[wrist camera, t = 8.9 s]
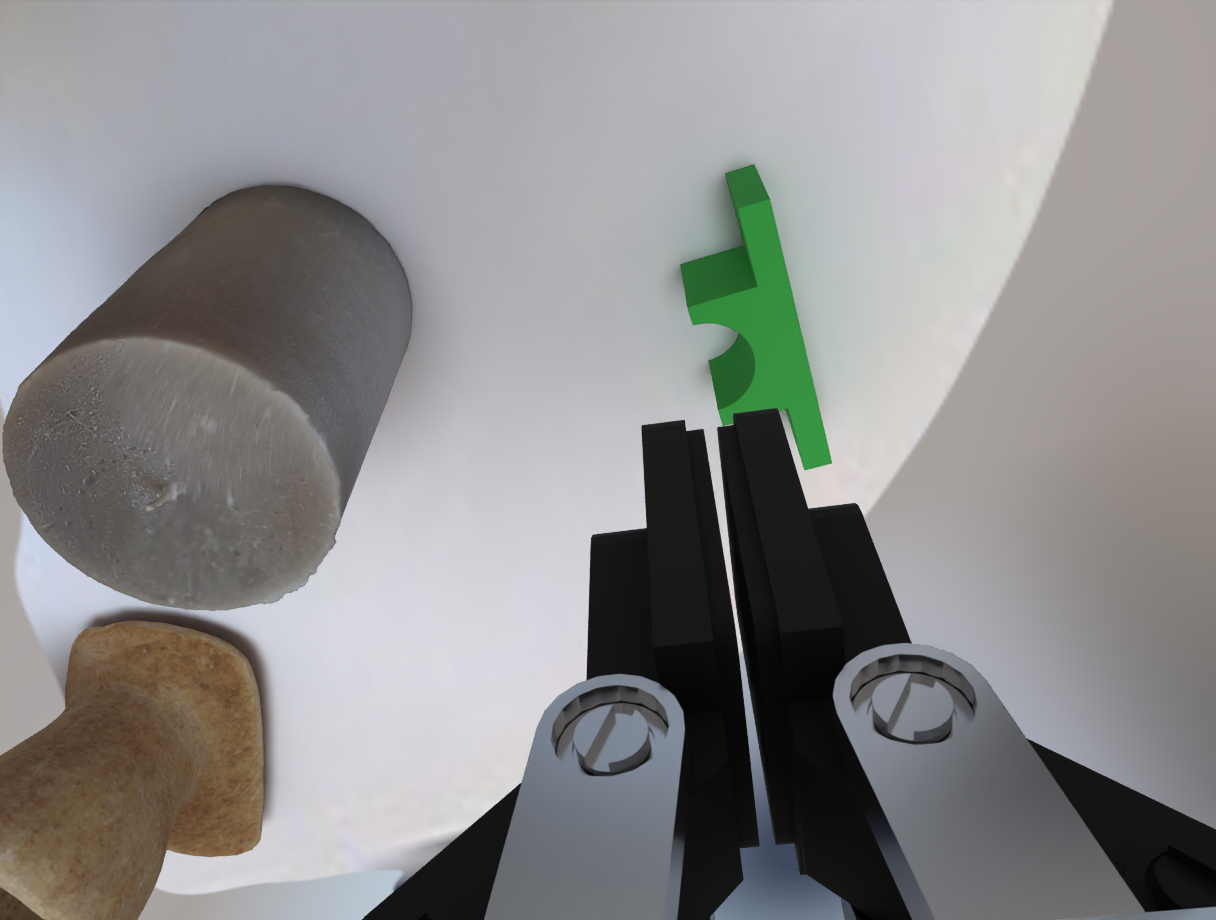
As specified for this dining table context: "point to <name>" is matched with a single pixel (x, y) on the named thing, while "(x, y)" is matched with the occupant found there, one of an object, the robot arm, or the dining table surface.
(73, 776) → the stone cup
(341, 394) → the pillar candle
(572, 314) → the dining table surface
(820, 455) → the pipe clamp
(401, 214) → the dining table surface
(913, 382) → the dining table surface
